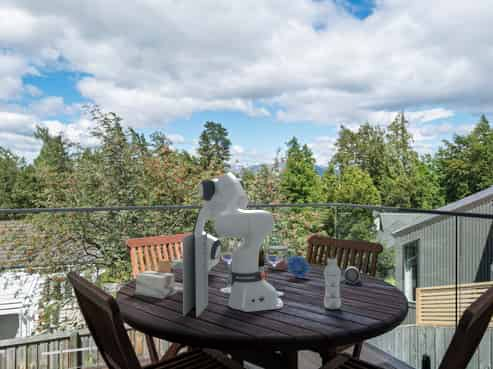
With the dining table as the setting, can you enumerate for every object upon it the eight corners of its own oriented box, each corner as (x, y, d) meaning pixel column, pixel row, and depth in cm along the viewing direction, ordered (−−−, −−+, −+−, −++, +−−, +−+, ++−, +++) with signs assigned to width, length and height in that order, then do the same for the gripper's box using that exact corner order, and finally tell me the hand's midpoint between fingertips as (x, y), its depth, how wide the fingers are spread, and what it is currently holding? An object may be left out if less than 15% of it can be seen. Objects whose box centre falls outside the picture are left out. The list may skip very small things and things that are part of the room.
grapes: (287, 279, 208) (286, 256, 208) (286, 276, 215) (286, 254, 215) (309, 280, 207) (309, 256, 207) (308, 276, 214) (308, 254, 214)
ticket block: (167, 282, 205) (167, 264, 205) (194, 286, 196) (194, 268, 196) (134, 293, 186) (134, 274, 185) (162, 298, 177) (162, 278, 177)
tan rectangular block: (164, 286, 193) (163, 258, 193) (170, 287, 191) (170, 259, 191) (159, 287, 190) (158, 260, 190) (165, 288, 188) (165, 261, 188)
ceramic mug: (359, 279, 207) (359, 264, 207) (360, 283, 199) (359, 268, 199) (338, 279, 209) (337, 264, 209) (337, 283, 201) (337, 267, 201)
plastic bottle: (322, 306, 164) (322, 257, 164) (339, 306, 164) (339, 256, 164) (325, 311, 158) (324, 260, 157) (342, 311, 157) (342, 260, 157)
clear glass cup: (283, 270, 231) (283, 249, 231) (265, 268, 236) (265, 247, 236) (290, 266, 241) (290, 246, 241) (272, 264, 246) (272, 245, 246)
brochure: (197, 316, 153) (196, 237, 152) (183, 316, 154) (182, 237, 153) (208, 305, 167) (207, 232, 166) (195, 304, 168) (194, 232, 167)
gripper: (181, 255, 218) (164, 259, 206) (213, 258, 207) (196, 263, 195) (182, 266, 218) (164, 272, 206) (213, 270, 207) (196, 276, 195)
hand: (180, 267), depth 200 cm, fingers open, 8 cm apart
